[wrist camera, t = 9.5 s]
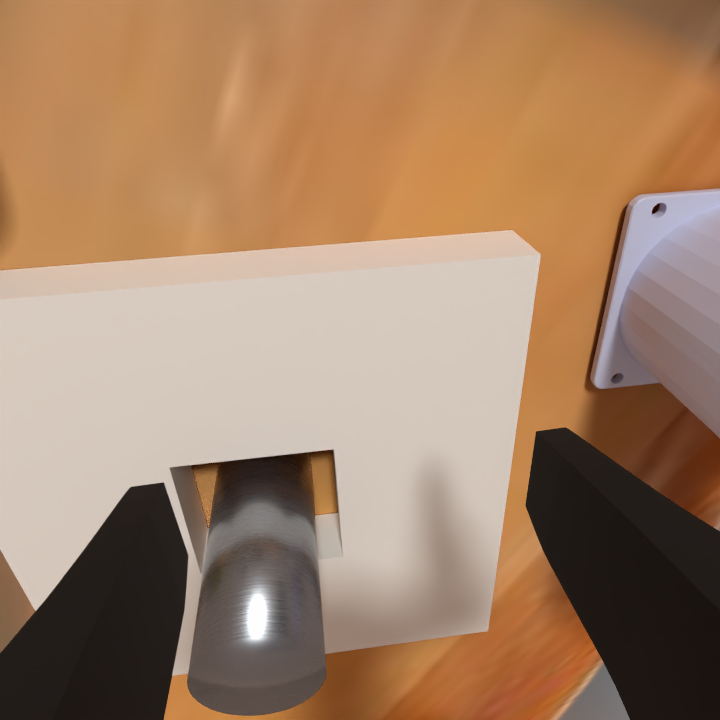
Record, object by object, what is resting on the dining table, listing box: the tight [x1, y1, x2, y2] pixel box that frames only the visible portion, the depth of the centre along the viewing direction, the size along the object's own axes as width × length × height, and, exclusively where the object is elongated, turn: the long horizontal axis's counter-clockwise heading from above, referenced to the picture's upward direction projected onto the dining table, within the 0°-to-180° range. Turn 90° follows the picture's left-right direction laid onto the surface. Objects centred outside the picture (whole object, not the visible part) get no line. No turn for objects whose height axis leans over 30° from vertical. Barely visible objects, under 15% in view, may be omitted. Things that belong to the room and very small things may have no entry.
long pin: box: [187, 452, 326, 716], centre depth 20 cm, size 4×4×9 cm
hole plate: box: [0, 230, 541, 676], centre depth 23 cm, size 20×20×2 cm
